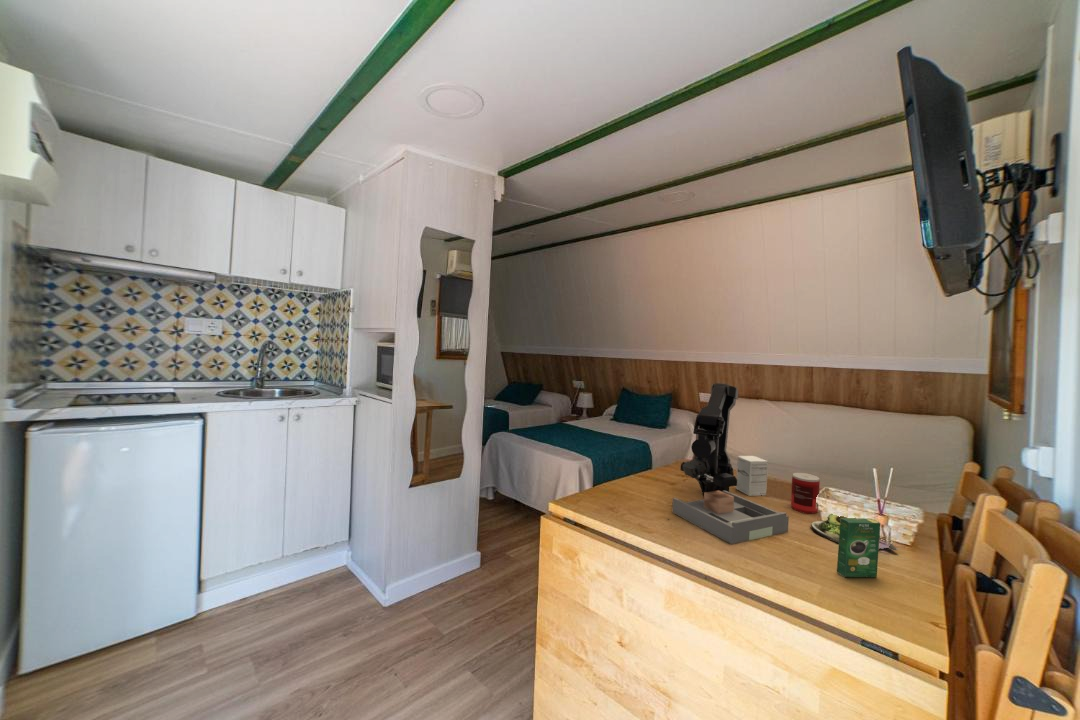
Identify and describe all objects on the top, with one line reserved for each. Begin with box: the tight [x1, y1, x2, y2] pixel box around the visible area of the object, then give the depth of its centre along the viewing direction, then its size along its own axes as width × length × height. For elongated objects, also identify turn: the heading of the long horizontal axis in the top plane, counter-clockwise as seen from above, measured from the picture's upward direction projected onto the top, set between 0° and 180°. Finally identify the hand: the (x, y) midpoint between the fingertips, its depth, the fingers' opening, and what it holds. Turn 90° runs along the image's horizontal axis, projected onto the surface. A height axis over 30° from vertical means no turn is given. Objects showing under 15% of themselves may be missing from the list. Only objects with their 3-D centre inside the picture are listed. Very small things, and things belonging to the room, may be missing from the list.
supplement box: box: [735, 455, 769, 497], centre depth 155 cm, size 7×7×13 cm
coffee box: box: [836, 517, 881, 579], centre depth 99 cm, size 8×3×13 cm, turn 93°
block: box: [703, 490, 734, 514], centre depth 131 cm, size 6×6×4 cm
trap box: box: [671, 490, 790, 545], centre depth 128 cm, size 23×22×6 cm
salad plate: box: [810, 513, 899, 551], centre depth 119 cm, size 19×18×5 cm
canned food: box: [790, 472, 821, 514], centre depth 139 cm, size 8×8×11 cm
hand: (706, 499), depth 136 cm, fingers closed
